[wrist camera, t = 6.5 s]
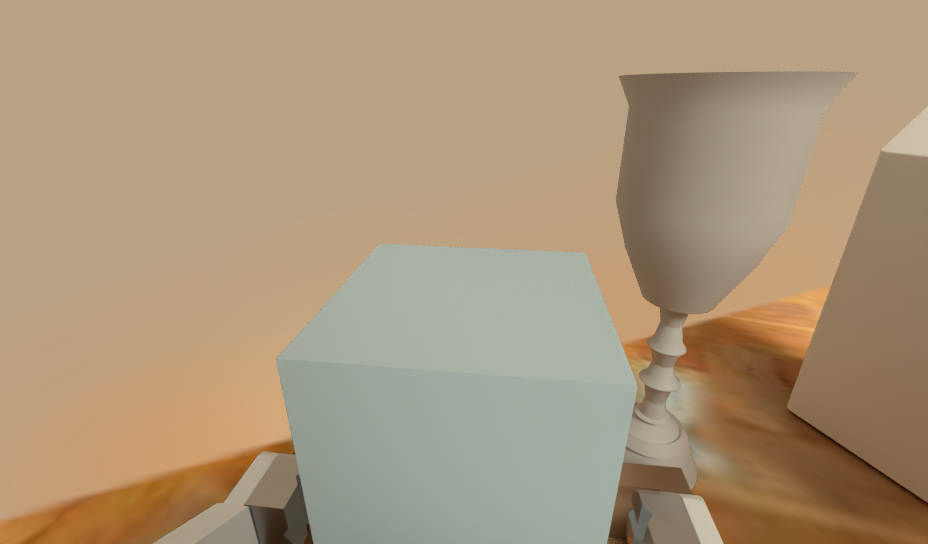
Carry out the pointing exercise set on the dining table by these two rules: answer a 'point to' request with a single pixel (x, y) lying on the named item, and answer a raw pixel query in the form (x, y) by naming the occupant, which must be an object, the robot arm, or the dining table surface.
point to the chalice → (706, 207)
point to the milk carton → (878, 324)
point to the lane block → (460, 401)
